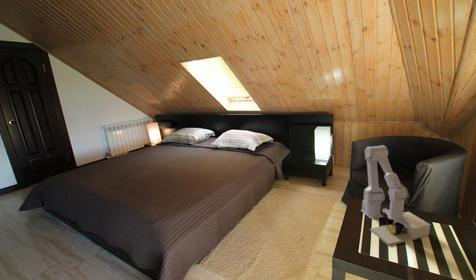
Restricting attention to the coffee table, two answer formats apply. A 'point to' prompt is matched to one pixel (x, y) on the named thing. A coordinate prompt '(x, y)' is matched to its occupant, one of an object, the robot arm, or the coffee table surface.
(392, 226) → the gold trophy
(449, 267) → the coffee table surface
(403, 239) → the housing
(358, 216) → the coffee table surface
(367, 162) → the robot arm
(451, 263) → the coffee table surface
